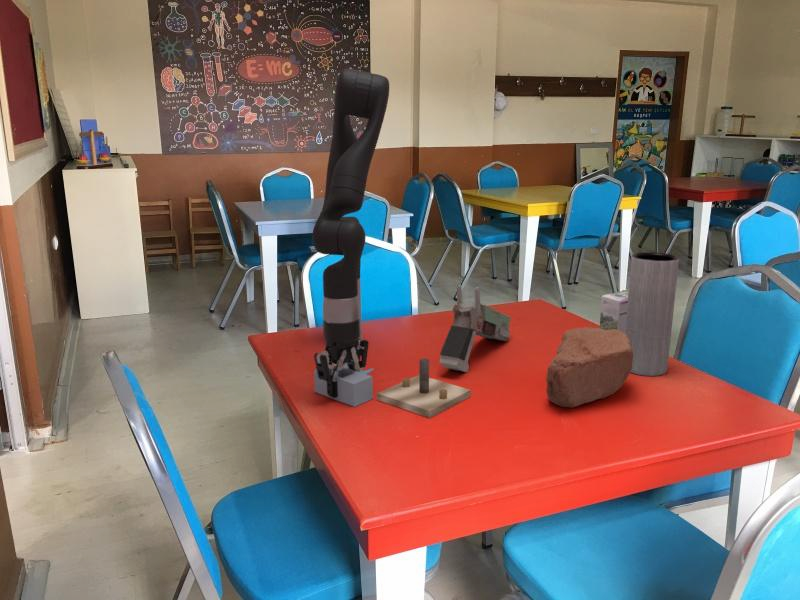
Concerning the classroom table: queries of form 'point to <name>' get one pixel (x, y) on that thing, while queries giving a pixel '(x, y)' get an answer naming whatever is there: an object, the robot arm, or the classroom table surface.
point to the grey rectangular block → (348, 386)
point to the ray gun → (471, 330)
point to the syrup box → (613, 312)
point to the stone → (588, 366)
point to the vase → (651, 311)
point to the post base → (424, 393)
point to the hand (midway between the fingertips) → (343, 392)
